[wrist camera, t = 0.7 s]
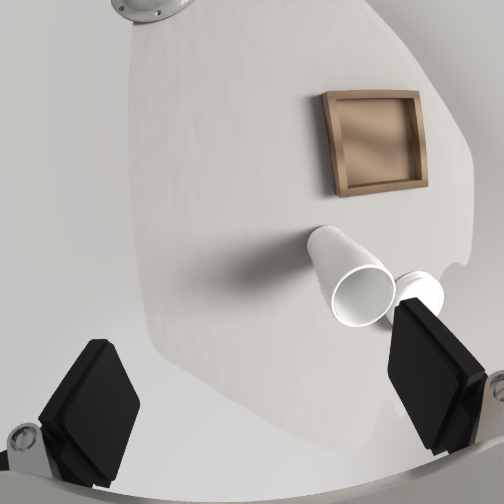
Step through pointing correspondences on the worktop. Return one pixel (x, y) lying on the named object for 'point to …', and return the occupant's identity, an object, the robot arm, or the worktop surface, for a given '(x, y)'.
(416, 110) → the tray
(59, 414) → the robot arm
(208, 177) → the worktop surface
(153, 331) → the worktop surface
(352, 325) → the white tall cup
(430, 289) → the white cup lid
